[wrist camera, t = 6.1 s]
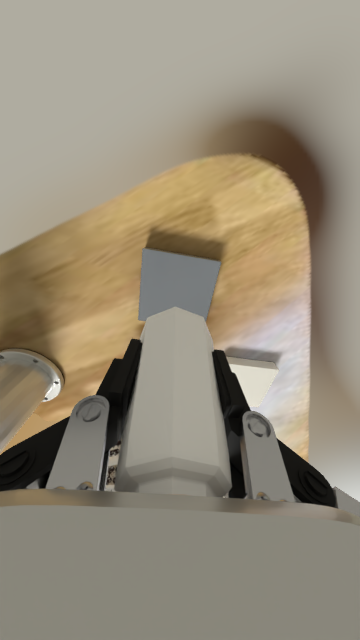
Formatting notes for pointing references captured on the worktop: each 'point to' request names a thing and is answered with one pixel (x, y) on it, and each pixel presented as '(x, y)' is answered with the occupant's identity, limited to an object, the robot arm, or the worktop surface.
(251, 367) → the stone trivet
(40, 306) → the worktop surface
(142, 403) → the salt shaker
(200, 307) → the plate
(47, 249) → the worktop surface
